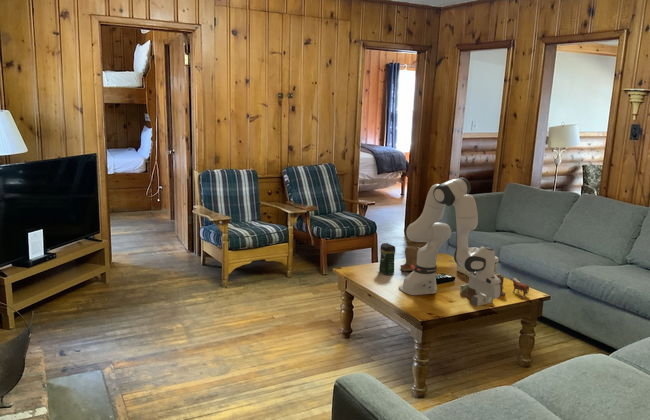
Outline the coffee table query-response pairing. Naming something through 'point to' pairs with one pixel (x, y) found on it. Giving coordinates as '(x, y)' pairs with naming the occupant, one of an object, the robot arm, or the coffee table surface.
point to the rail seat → (471, 292)
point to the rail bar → (480, 300)
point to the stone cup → (410, 258)
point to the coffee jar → (387, 258)
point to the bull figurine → (520, 286)
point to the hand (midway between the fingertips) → (482, 300)
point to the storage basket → (476, 272)
